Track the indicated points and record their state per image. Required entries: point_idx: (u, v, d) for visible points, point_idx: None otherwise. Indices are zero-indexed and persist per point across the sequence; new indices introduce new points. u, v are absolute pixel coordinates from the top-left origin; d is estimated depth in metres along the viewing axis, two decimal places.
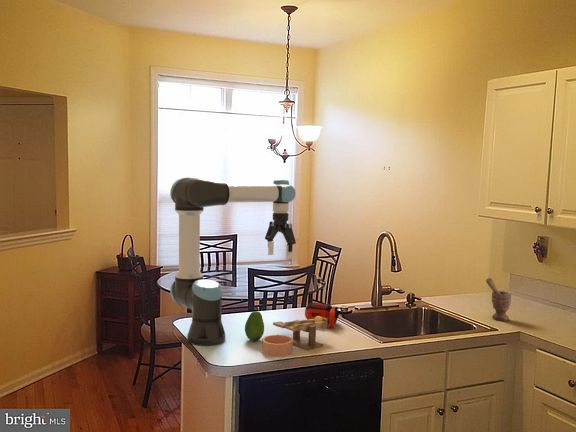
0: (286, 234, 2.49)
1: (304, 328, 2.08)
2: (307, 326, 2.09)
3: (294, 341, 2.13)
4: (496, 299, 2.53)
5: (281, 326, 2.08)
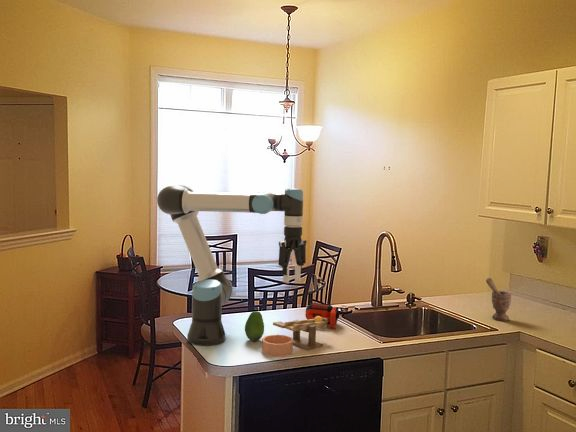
0: (285, 253, 2.18)
1: (304, 328, 2.08)
2: (307, 326, 2.09)
3: (294, 341, 2.13)
4: (496, 299, 2.53)
5: (281, 326, 2.08)
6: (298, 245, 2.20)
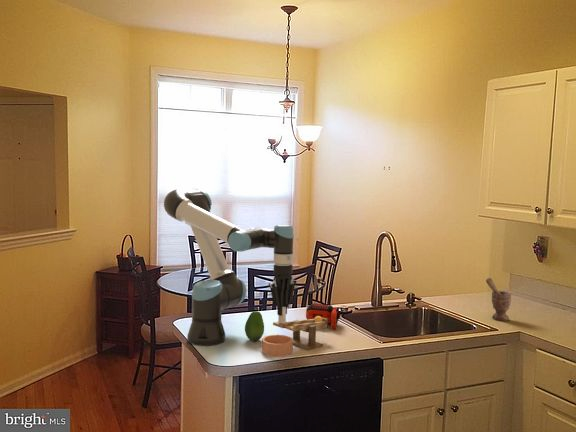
0: (278, 293, 2.09)
1: (304, 328, 2.08)
2: (307, 326, 2.09)
3: (294, 341, 2.13)
4: (496, 299, 2.53)
5: (281, 326, 2.08)
6: (287, 284, 2.10)
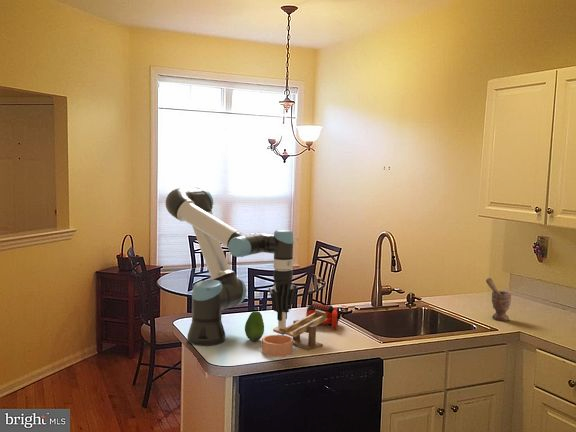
0: (278, 298, 2.10)
1: (304, 330, 2.08)
2: (307, 327, 2.09)
3: (294, 341, 2.13)
4: (496, 299, 2.53)
5: (281, 333, 2.09)
6: (287, 289, 2.10)
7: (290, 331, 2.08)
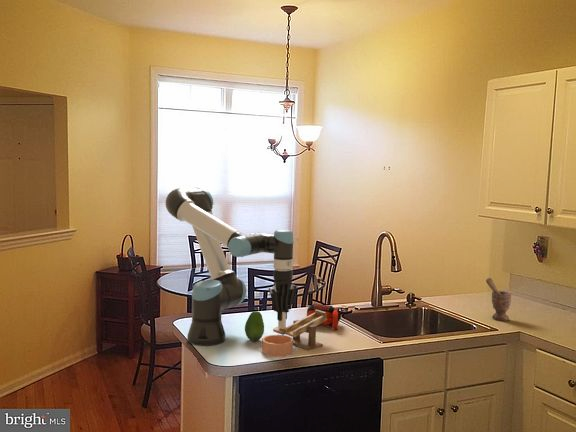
0: (278, 298, 2.10)
1: (304, 330, 2.08)
2: (307, 327, 2.09)
3: (294, 341, 2.13)
4: (496, 299, 2.53)
5: (281, 333, 2.09)
6: (287, 289, 2.10)
7: (290, 331, 2.08)
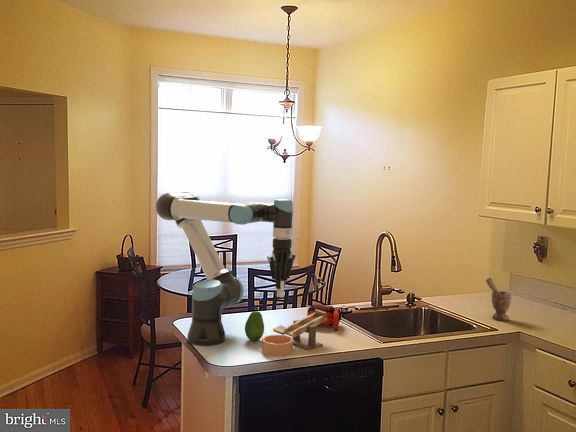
0: (276, 267, 2.12)
1: (304, 330, 2.08)
2: (307, 327, 2.09)
3: (294, 341, 2.13)
4: (496, 299, 2.53)
5: (281, 333, 2.09)
6: (286, 258, 2.12)
7: (290, 331, 2.08)
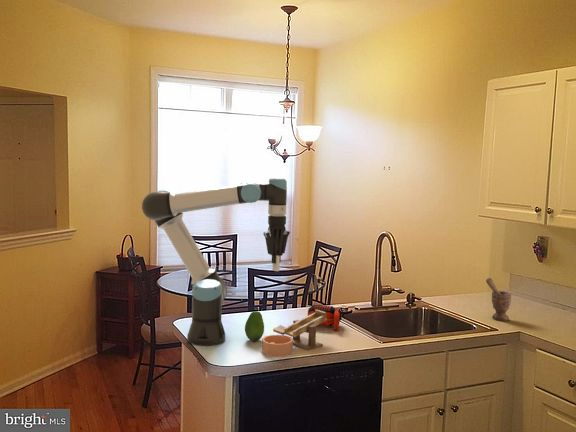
0: (272, 242, 2.23)
1: (304, 330, 2.08)
2: (307, 327, 2.09)
3: (294, 341, 2.13)
4: (496, 299, 2.53)
5: (281, 333, 2.09)
6: (281, 234, 2.24)
7: (290, 331, 2.08)
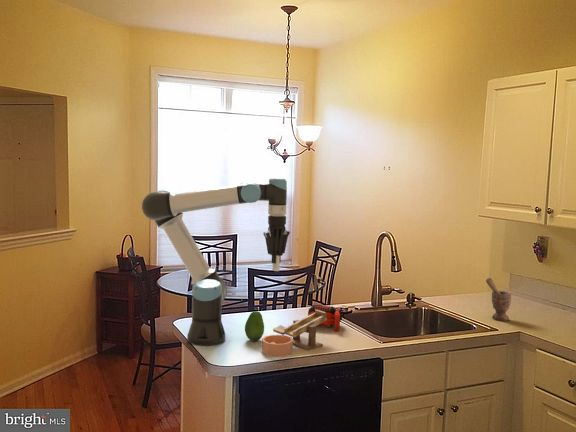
0: (272, 242, 2.23)
1: (304, 330, 2.08)
2: (307, 327, 2.09)
3: (294, 341, 2.13)
4: (496, 299, 2.53)
5: (281, 333, 2.09)
6: (281, 234, 2.24)
7: (290, 331, 2.08)
